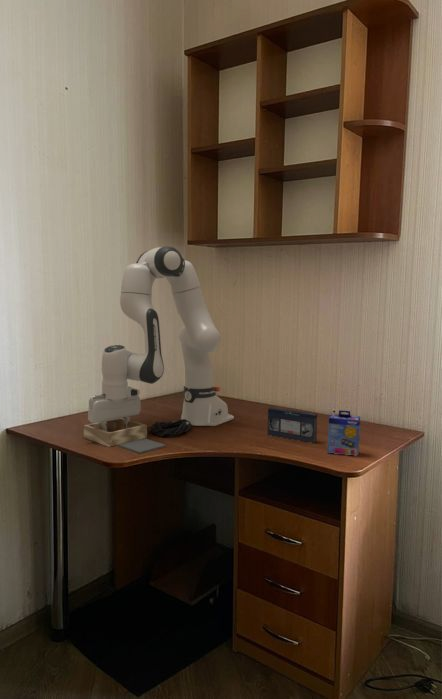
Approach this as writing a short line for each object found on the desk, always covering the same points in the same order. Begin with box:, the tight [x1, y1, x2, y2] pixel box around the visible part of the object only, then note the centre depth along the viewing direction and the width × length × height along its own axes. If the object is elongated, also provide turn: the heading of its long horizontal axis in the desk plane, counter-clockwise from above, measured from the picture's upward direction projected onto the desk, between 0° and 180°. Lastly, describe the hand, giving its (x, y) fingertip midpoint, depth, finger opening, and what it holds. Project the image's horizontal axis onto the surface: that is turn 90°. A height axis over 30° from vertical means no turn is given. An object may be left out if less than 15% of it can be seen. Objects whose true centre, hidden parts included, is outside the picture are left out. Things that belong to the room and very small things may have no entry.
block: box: [106, 419, 125, 432], centre depth 192 cm, size 4×4×6 cm
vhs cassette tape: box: [267, 407, 318, 444], centre depth 193 cm, size 18×3×10 cm, turn 55°
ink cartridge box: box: [327, 409, 361, 457], centre depth 177 cm, size 10×6×14 cm, turn 73°
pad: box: [118, 438, 167, 454], centre depth 182 cm, size 11×11×1 cm
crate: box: [83, 418, 148, 448], centre depth 192 cm, size 16×15×4 cm
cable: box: [150, 418, 193, 438], centre depth 201 cm, size 17×14×4 cm
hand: (115, 431), depth 192 cm, fingers open, 6 cm apart
